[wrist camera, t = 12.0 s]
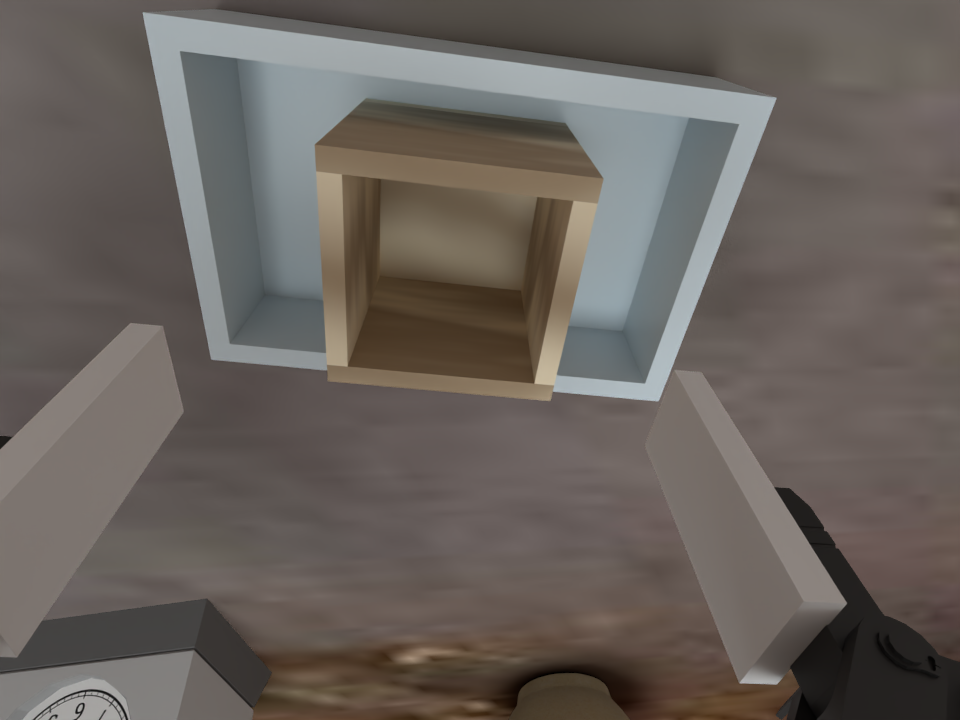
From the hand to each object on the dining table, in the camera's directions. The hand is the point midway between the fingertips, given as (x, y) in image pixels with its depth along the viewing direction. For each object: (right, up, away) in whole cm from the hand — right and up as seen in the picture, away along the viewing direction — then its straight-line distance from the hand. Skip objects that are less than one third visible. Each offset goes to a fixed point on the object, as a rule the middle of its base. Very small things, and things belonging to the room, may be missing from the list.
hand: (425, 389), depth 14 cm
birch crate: (0, +8, +12) cm, 15 cm away
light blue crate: (0, +9, +13) cm, 16 cm away
